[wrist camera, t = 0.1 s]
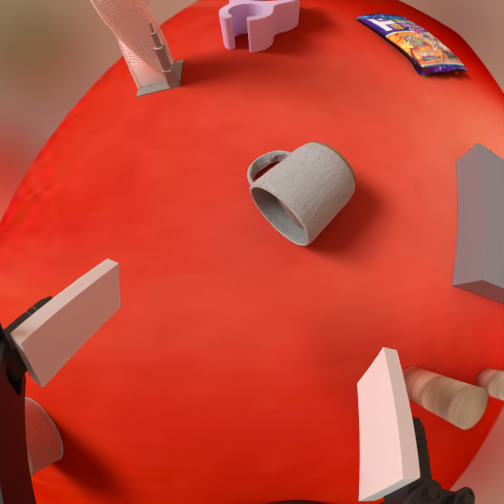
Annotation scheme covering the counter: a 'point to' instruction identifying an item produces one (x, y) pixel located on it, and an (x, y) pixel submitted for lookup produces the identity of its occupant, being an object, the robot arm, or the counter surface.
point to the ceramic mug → (302, 189)
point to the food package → (414, 44)
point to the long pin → (446, 396)
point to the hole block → (480, 224)
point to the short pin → (491, 382)
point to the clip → (257, 21)
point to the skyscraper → (141, 44)
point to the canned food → (41, 437)
